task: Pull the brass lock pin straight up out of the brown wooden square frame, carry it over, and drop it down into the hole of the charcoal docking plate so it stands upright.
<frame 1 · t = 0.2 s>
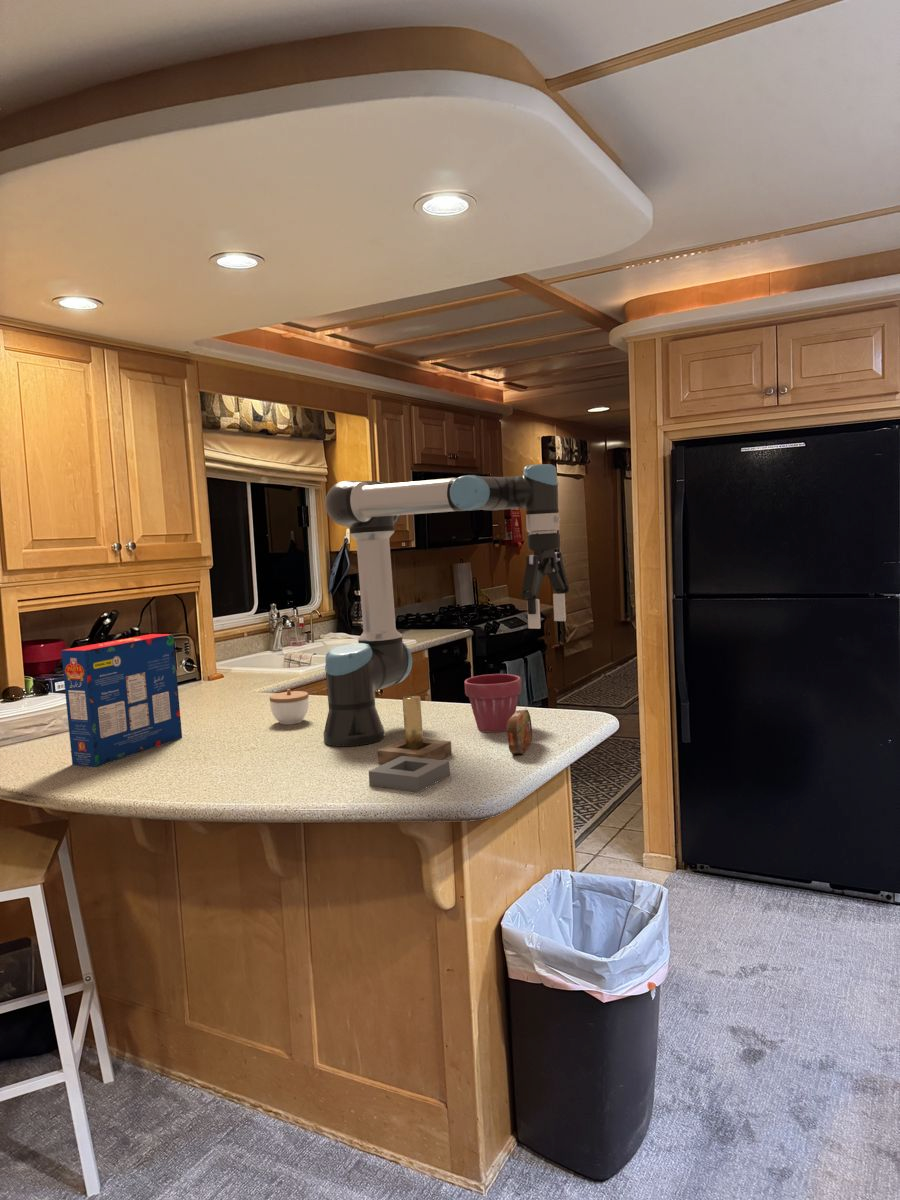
hand: (547, 624, 192), 28 cm above the worktop, fingers open, 13 cm apart
tin: (520, 750, 190), on the worktop
brown wooden square frame: (415, 758, 187), on the worktop
lock pin: (413, 728, 186), in the brown wooden square frame
pasta box: (130, 751, 210), on the worktop
lidded jar: (291, 722, 232), on the worktop
plant pot: (495, 728, 211), on the worktop
docking plate: (410, 780, 171), on the worktop
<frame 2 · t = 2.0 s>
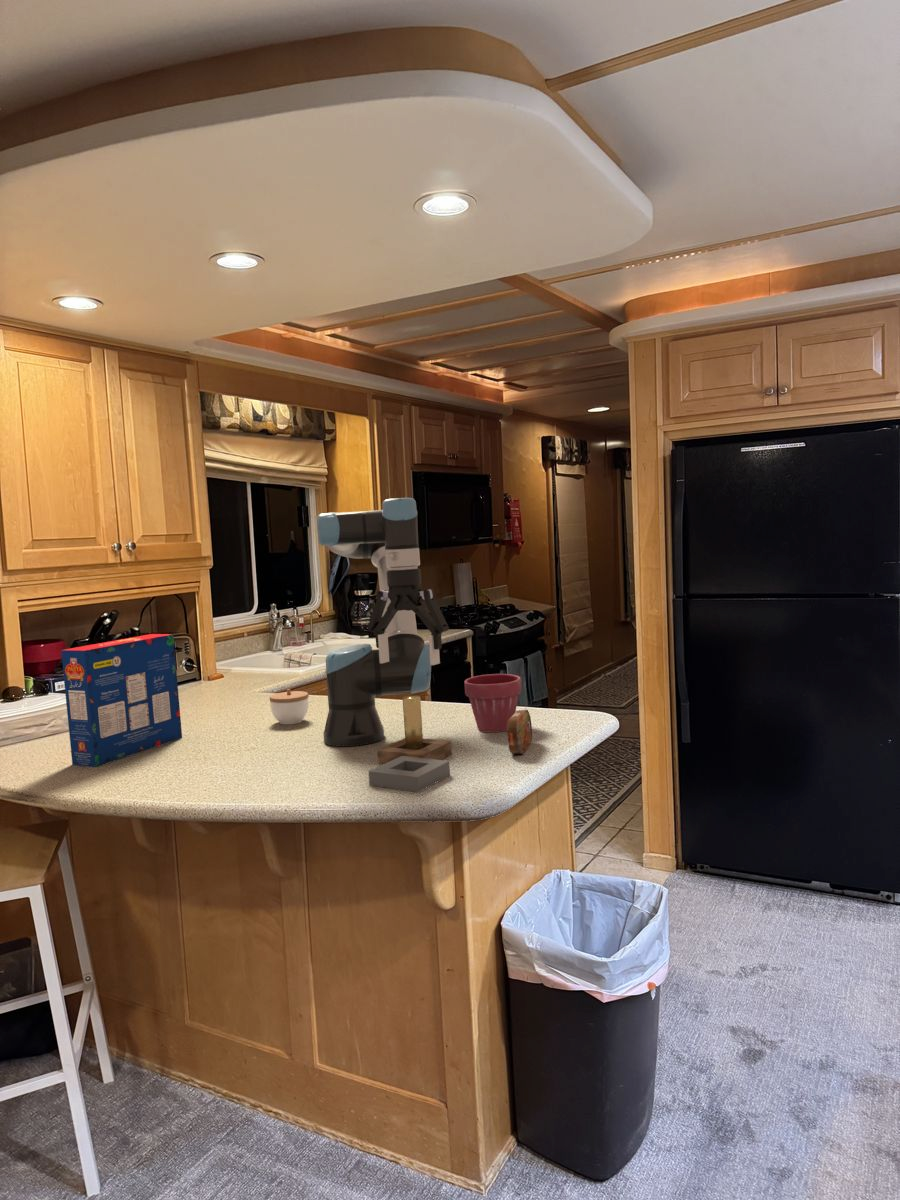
hand: (409, 663, 185), 22 cm above the worktop, fingers open, 13 cm apart
nothing on the worktop moved.
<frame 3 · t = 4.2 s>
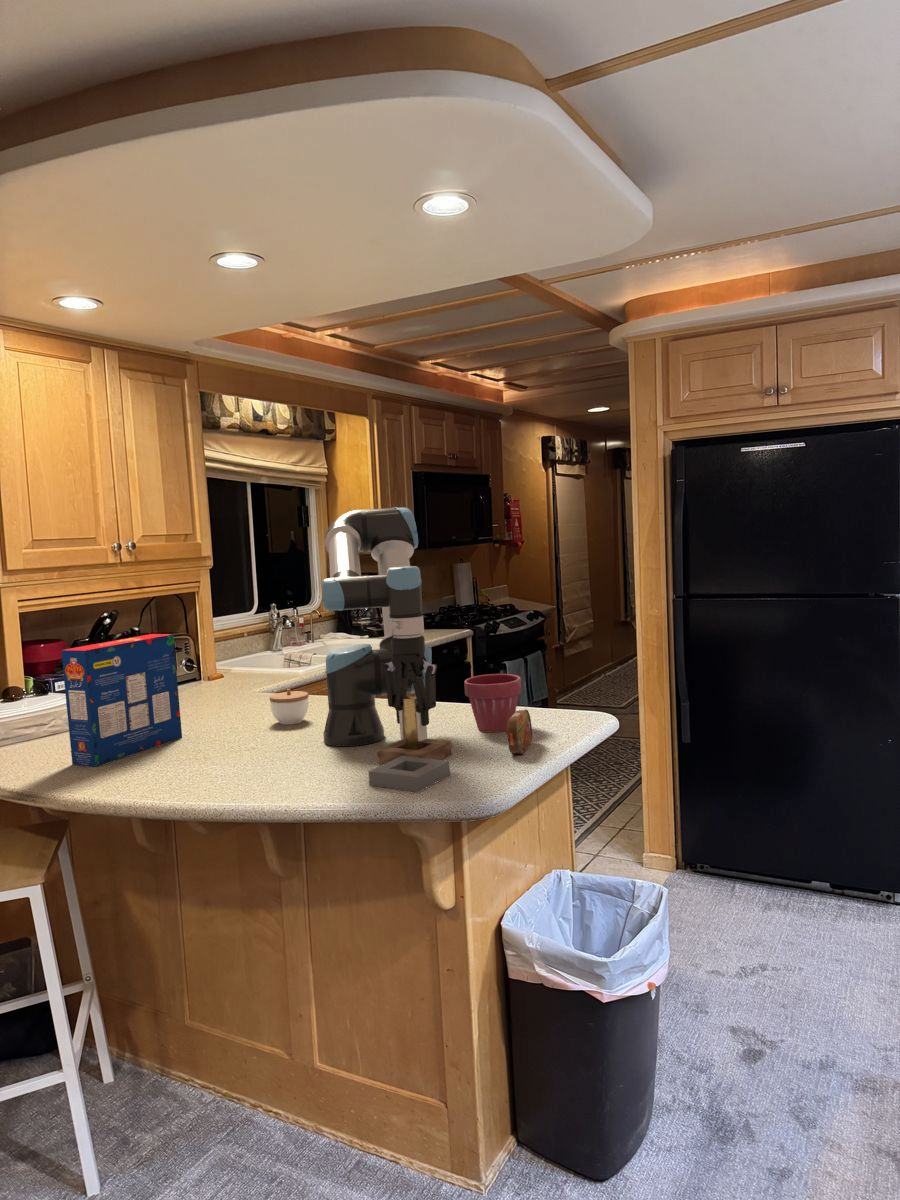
hand: (414, 738, 186), 5 cm above the worktop, fingers closed on lock pin, 4 cm apart
lock pin: (413, 728, 186), in the brown wooden square frame, touching gripper
everything else where it was.
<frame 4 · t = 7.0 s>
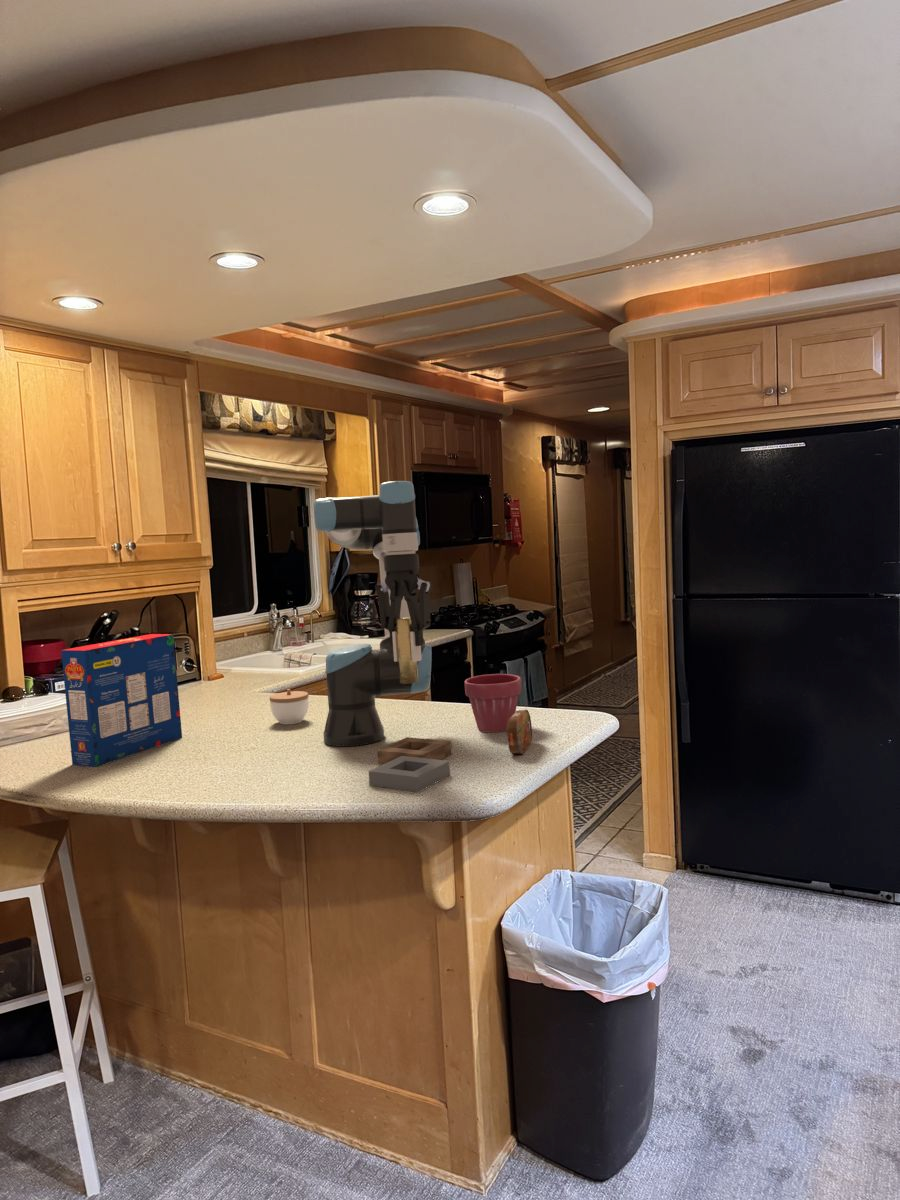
hand: (407, 660, 180), 23 cm above the worktop, fingers closed on lock pin, 4 cm apart
lock pin: (407, 650, 180), point 25 cm above the worktop, touching gripper
everything else where it was.
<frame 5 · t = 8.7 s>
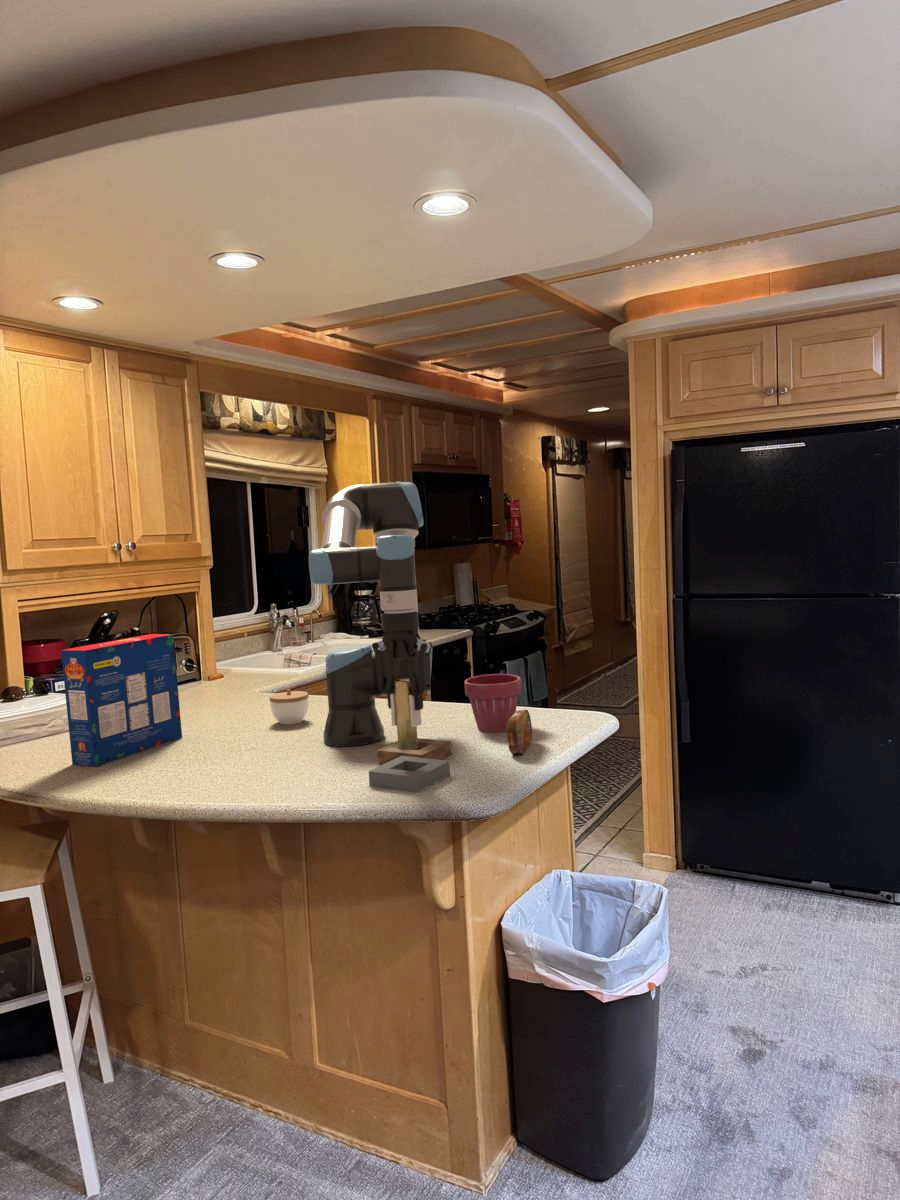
hand: (406, 724, 169), 12 cm above the worktop, fingers closed on lock pin, 4 cm apart
lock pin: (406, 714, 169), point 14 cm above the worktop, touching gripper
everything else where it was.
when the fingers open (5 cm above the worktop, at t = 10.1 s): lock pin stays where it is, resting in docking plate.
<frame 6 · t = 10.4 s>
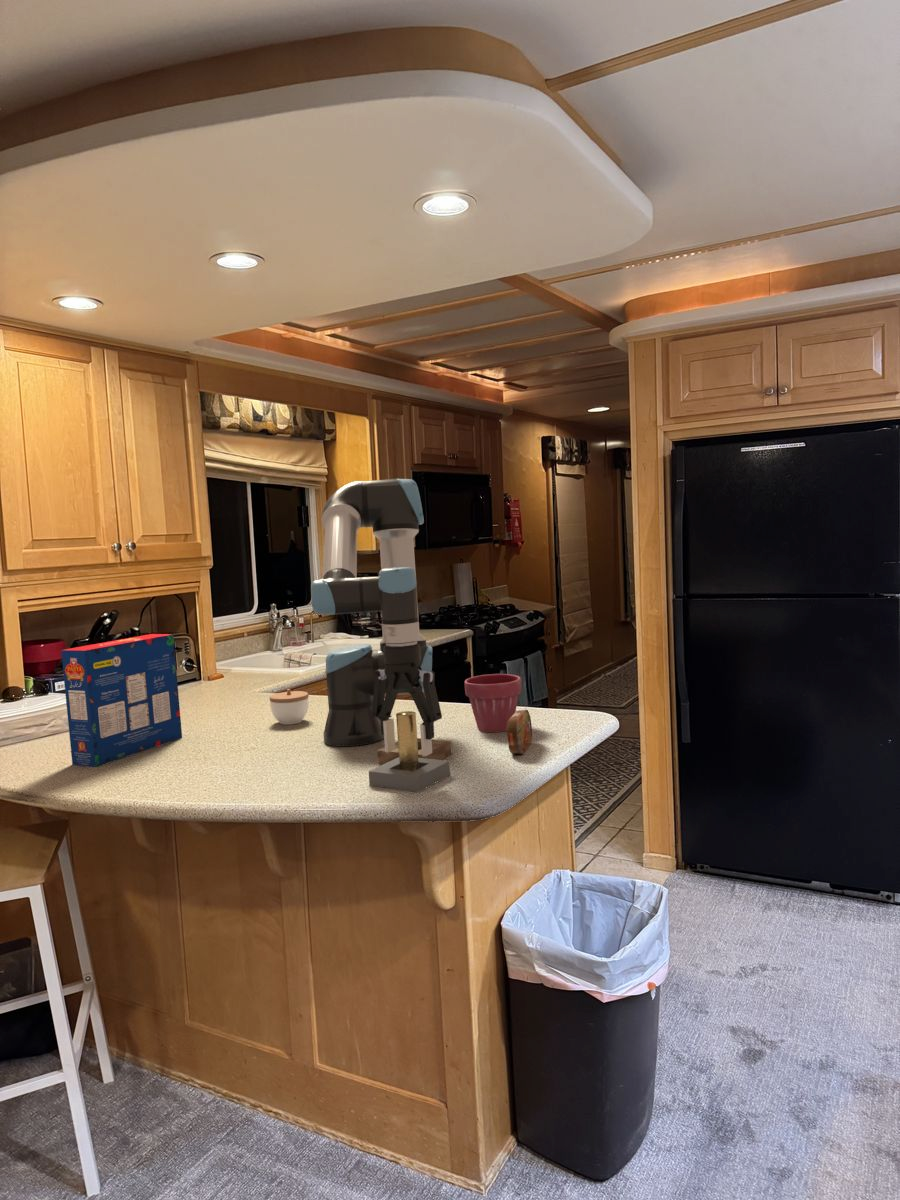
hand: (408, 752, 170), 6 cm above the worktop, fingers open, 8 cm apart
lock pin: (408, 747, 170), in the docking plate
everything else where it was.
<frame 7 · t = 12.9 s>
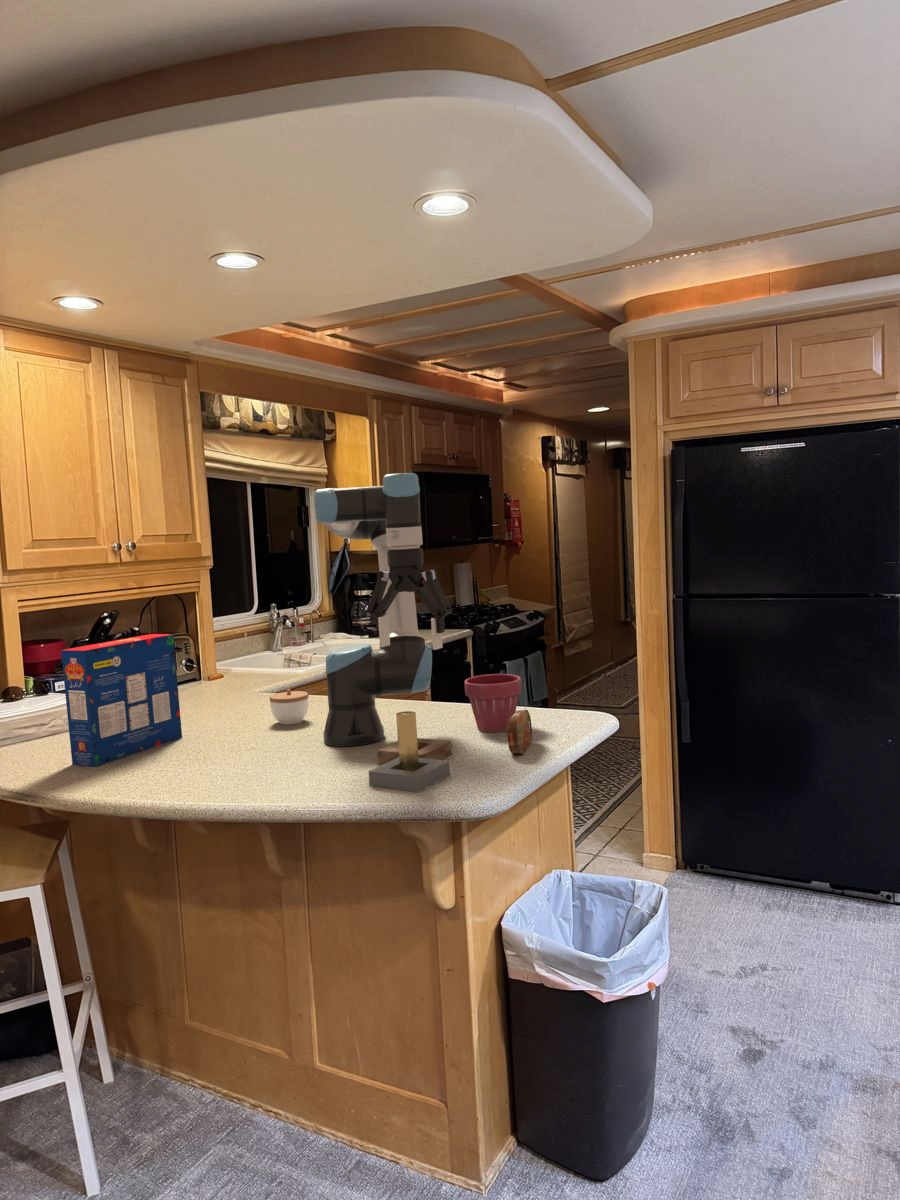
hand: (410, 647, 176), 26 cm above the worktop, fingers open, 13 cm apart
nothing on the worktop moved.
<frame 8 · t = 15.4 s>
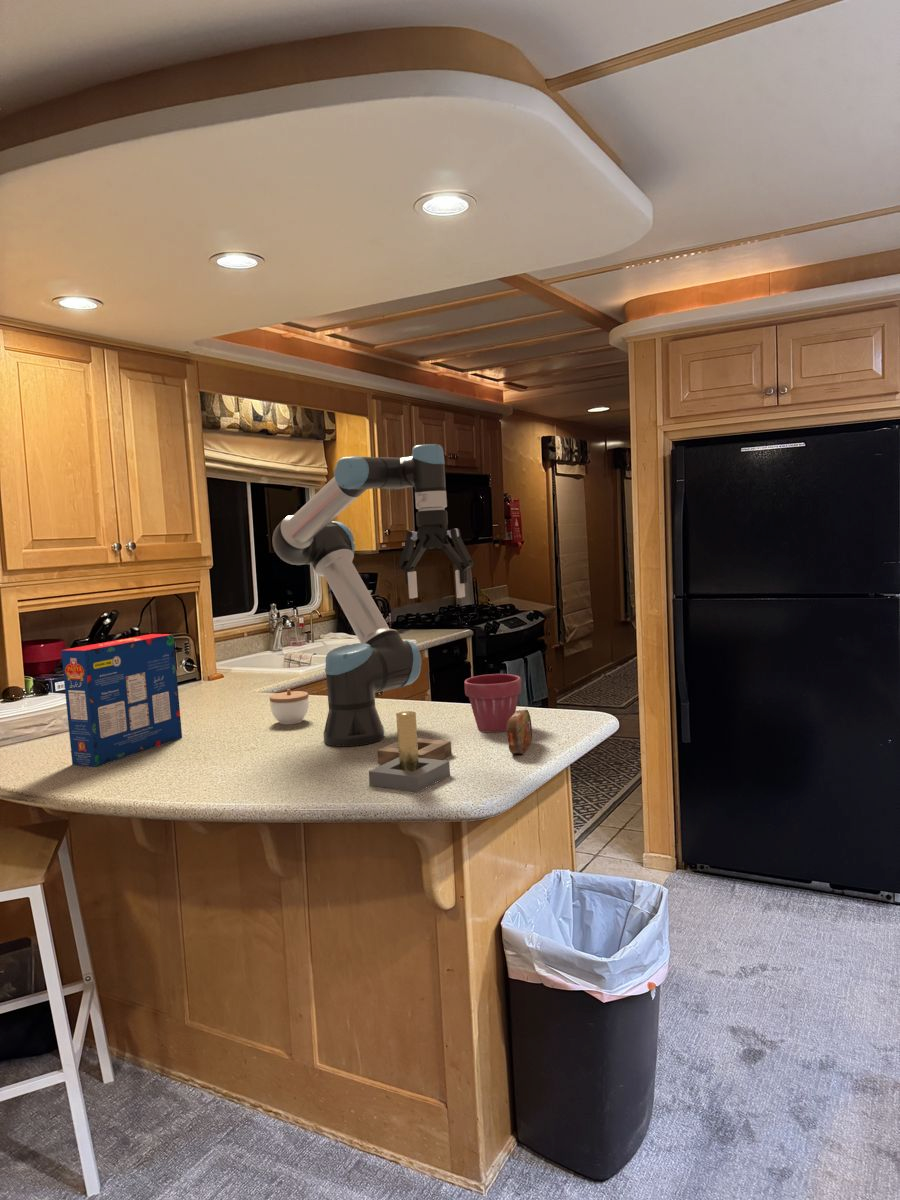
hand: (436, 597, 201), 35 cm above the worktop, fingers open, 13 cm apart
nothing on the worktop moved.
at the end: lock pin 0.0 cm off-centre on the docking plate, point 7.0 cm above the docking plate's base; lock pin tilted 0°; the gripper is holding nothing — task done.
